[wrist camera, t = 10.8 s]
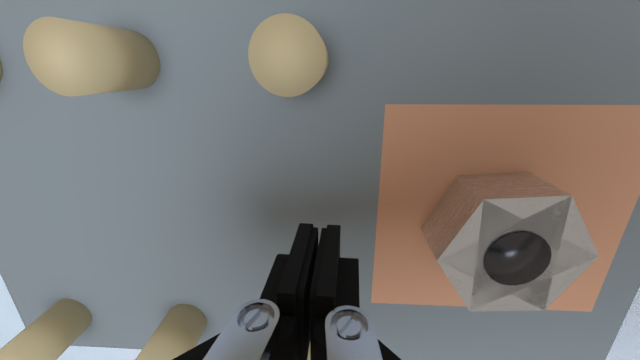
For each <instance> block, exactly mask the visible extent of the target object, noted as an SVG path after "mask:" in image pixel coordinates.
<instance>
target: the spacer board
mask: <svg viewBox="0 0 640 360" xmlns="http://www.w3.org/2000/svg"><path fill="white" fill-rule="evenodd" d="M526 171H529V172H531V173H533V174H534V175H536V176H538V177H540V178H542V179H543V180H545V181H547V182H549V183H550V184H552V185H554V186H556V187H558V188H559V189H561V190H563V191H565V192H567V193H568V194H570V195H572V196H573V199H574V201H575V203H576V205H577V207H578V210H579V212H580V214H581V216H582V219H583V221H584V223H585V225H586V228H587V230H588V232H589V234H590V237H591V239H592V241H593V243H594V246H595V248H596V250H597V252H598V254H599V257H598V258H597V259H596V260H595V261H594V262H593V263H592V264H591V265H590V266H589V267H588V268H587V269H586V270H585V271H584V272H583V273H582V274H581V275H580V276H579V277H578V278H577V279H576V280H575V281H574V282H573V283H572V284H571V285H570V286H569V287H568V288H567V289H566V290H565V291H564V292H563V293H562V294H561V295H560V296H559V297H558V298H557V299H556V300H555V301H554V302H553V303H552V304H551V305H550V306H549V307H548V308H547V309H546V310H538V311H469V310H468V308H467V307H466V305H465V304H464V302H463V300H462V299H461V297H460V296H459V294H458V293H457V291H456V290H455V288H454V287H453V285H452V284H451V282H450V280H449V279H448V277H447V276H446V274H445V273H444V271H443V270H442V268H441V267H440V265H439V263H438V262H437V260H436V258H435V256H434V254H433V252H432V250H431V248H430V246H429V244H428V242H427V240H426V238H425V236H424V234H423V232H422V230H421V228H420V227H421V226H422V225H423V223H424V222H425V220H426V219H427V218H428V216H429V215H430V213H431V212H432V210H433V209H434V208H435V206H436V205H437V203H438V202H439V200H440V199H441V198H442V196H443V195H444V193H445V192H446V190H447V189H448V188H449V186H450V185H451V183H452V182H453V180H454V179H455V178H456V176H457V175H467V174H487V173H506V172H526ZM300 223H308V224H313V226H314V227H318V246H319V240H320V235H321V230H322V228H327V225H341V234H340V257H341V258H358V259H359V302H360V308H361V309H362V310H364V311H365V312H367V314H368V315H369V316H370V317H371V319H372V321H373V324H374V328H375V332H376V336H377V339H378V340H380V341H381V342H382V343H383V344H384V345H385V346H386V347H388V348H389V349H390V350H391V351H392V352H393V353H394V354H396V355H397V356H398V357H399V358H400V359H401V360H605V359H606V357H607V355H608V353H609V350H610V348H611V346H612V344H613V342H614V340H615V338H616V335H617V333H618V331H619V329H620V327H621V325H622V323H623V320H624V318H625V316H626V314H627V312H628V310H629V308H630V305H631V303H632V301H633V299H634V297H635V295H636V293H637V290H638V288H639V286H640V0H0V274H1V276H2V278H3V280H4V282H5V284H6V287H7V289H8V291H9V293H10V295H11V297H12V299H13V302H14V304H15V306H16V308H17V310H18V312H19V314H20V317H21V319H22V321H23V323H24V325H25V327H26V328H25V329H24V330H23V331H21V332H20V333H19V334H18V335H17V336H16V337H14V338H13V339H12V340H11V341H10V342H8V343H7V344H6V345H5V346H4V347H2V348H1V349H0V360H56V359H57V358H58V357H59V356H60V355H61V354H62V353H63V352H64V351H65V350H66V349H67V348H68V347H69V346H70V345H71V346H90V347H110V348H129V349H142V351H141V352H140V354H139V355H138V357H137V358H136V359H135V360H172V359H174V358H176V357H178V356H179V355H181V354H183V353H185V352H187V351H189V350H190V349H192V348H194V347H196V346H198V345H199V344H201V343H203V342H205V341H207V340H208V339H210V338H212V337H214V336H216V335H217V334H219V333H221V332H222V330H223V329H224V327H225V326H226V324H227V323H228V321H229V320H230V318H231V317H232V315H233V314H234V312H235V311H236V310H237V309H238V308H239V307H240V306H241V305H243V304H244V303H246V302H248V301H251V300H255V299H260V296H261V294H262V291H263V289H264V286H265V284H266V281H267V279H268V276H269V274H270V271H271V268H272V266H273V263H274V261H275V258H276V256H277V254H290V251H291V247H292V244H293V241H294V238H295V235H296V232H297V229H298V226H299V224H300ZM307 360H311V355H310V345H309V351H308V358H307Z"/></svg>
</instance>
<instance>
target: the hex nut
mask: <svg viewBox="0 0 640 360" xmlns="http://www.w3.org/2000/svg"><path fill="white" fill-rule="evenodd" d="M420 228H421V230H422V232H423V234H424V236H425V238H426V240H427V242H428V244H429V246H430V248H431V250H432V252H433V254H434V256H435V258H436V260H437V262H438V263H439V265H440V267H441V268H442V270H443V271H444V273H445V274H446V276H447V277H448V279H449V280H450V282H451V284H452V285H453V287H454V288H455V290H456V291H457V293H458V294H459V296H460V297H461V299H462V300H463V302H464V304H465V305H466V307H467V308H468V310H469V311H538V310H546V309H547V308H548V307H549V306H550V305H551V304H552V303H553V302H554V301H555V300H556V299H557V298H558V297H559V296H560V295H561V294H562V293H563V292H564V291H565V290H566V289H567V288H568V287H569V286H570V285H571V284H572V283H573V282H574V281H575V280H576V279H577V278H578V277H579V276H580V275H581V274H582V273H583V272H584V271H585V270H586V269H587V268H588V267H589V266H590V265H591V264H592V263H593V262H594V261H595V260H596V259H597V258H598V257H599V254H598V252H597V250H596V248H595V246H594V243H593V241H592V239H591V237H590V234H589V232H588V230H587V228H586V225H585V223H584V221H583V219H582V216H581V214H580V212H579V210H578V207H577V205H576V203H575V201H574V199H573V196H572V195H570V194H568V193H567V192H565V191H563V190H561V189H559V188H558V187H556V186H554V185H552V184H550V183H549V182H547V181H545V180H543V179H542V178H540V177H538V176H536V175H534V174H533V173H531V172H529V171H526V172H506V173H487V174H467V175H457V176H456V178H455V179H454V180H453V182H452V183H451V185H450V186H449V188H448V189H447V190H446V192H445V193H444V195H443V196H442V198H441V199H440V200H439V202H438V203H437V205H436V206H435V208H434V209H433V210H432V212H431V213H430V215H429V216H428V218H427V219H426V220H425V222H424V223H423V225H422V226H421V227H420Z"/></svg>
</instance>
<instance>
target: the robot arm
mask: <svg viewBox="0 0 640 360" xmlns="http://www.w3.org/2000/svg"><path fill="white" fill-rule="evenodd" d="M340 234H341V225H327V228H322V230H321V235H320V240H319V246H318V227H314V226H313V224H308V223H300V224H299V226H298V229H297V232H296V235H295V238H294V241H293V244H292V247H291V251H290V254H277V256H276V258H275V261H274V263H273V266H272V268H271V271H270V274H269V276H268V279H267V281H266V284H265V286H264V289H263V291H262V294H261V296H260V299H255V300H251V301H248V302H246V303H244V304H243V305H241V306H240V307H239V308H238V309H237V310H236V311H235V312H234V314H233V315H232V317H231V318H230V320H229V321H228V323H227V324H226V326H225V327H224V329H223V330H222V332H221V333H219V334H217V335H216V336H214V337H212V338H210V339H208V340H207V341H205V342H203V343H201V344H199V345H198V346H196V347H194V348H192V349H190V350H189V351H187V352H185V353H183V354H181V355H179V356H178V357H176V358H174V359H172V360H307V358H308V351H309V345H310V355H311V360H401V359H400V358H399V357H398V356H397V355H396V354H394V353H393V352H392V351H391V350H390V349H389V348H388V347H386V346H385V345H384V344H383V343H382V342H381V341H380V340H378V339H377V336H376V332H375V328H374V324H373V321H372V319H371V317H370V316H369V315H368V314H367V312H365V311H364V310H362V309H361V308H360V302H359V259H358V258H341V257H340Z"/></svg>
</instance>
